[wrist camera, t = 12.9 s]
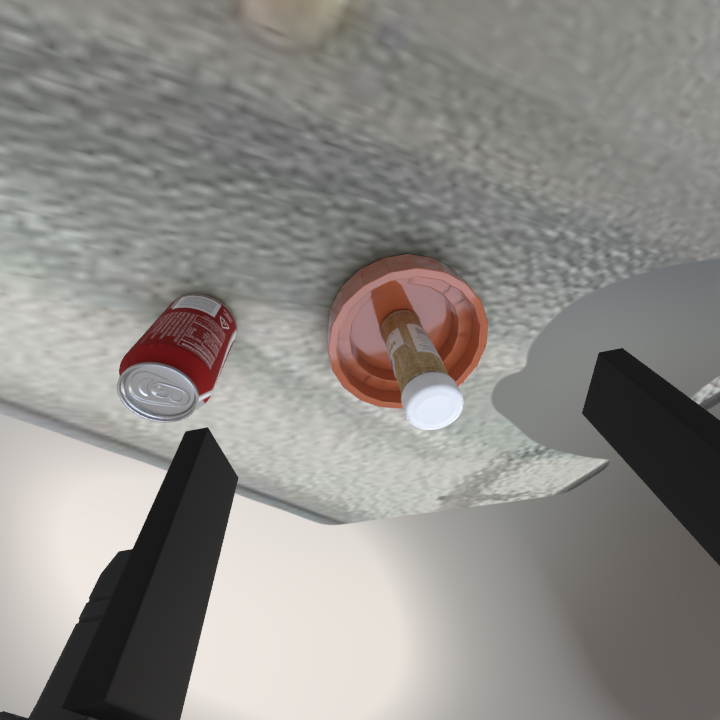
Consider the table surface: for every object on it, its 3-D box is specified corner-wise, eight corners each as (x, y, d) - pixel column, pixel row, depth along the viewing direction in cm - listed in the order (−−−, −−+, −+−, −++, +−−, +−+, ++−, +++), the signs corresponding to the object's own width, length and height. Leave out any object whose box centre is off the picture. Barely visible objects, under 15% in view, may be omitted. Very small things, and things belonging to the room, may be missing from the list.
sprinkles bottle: (372, 321, 36) (395, 404, 25) (410, 300, 35) (452, 376, 24) (391, 352, 39) (420, 440, 27) (428, 333, 38) (473, 416, 27)
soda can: (177, 279, 33) (115, 342, 23) (247, 308, 35) (217, 377, 25) (162, 335, 36) (100, 412, 26) (226, 358, 38) (193, 438, 28)
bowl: (409, 217, 32) (423, 229, 28) (495, 322, 39) (516, 344, 35) (297, 326, 37) (294, 350, 32) (391, 401, 44) (399, 429, 40)
